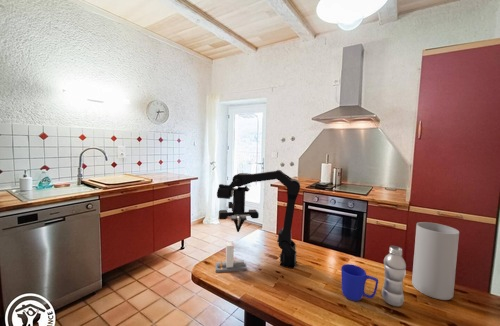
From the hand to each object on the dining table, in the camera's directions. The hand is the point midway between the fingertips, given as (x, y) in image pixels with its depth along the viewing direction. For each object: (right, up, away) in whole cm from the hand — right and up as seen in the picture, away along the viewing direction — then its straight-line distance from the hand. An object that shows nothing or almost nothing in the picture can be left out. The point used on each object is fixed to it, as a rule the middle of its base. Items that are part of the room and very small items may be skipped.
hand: (237, 231), depth 108 cm
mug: (+45, -16, -26) cm, 55 cm away
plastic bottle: (+56, -17, -28) cm, 65 cm away
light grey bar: (-3, -14, -8) cm, 16 cm away
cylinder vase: (+77, -17, -20) cm, 81 cm away
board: (-3, -14, -8) cm, 16 cm away
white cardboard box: (-3, -12, -8) cm, 15 cm away
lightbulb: (+62, -16, -21) cm, 67 cm away
